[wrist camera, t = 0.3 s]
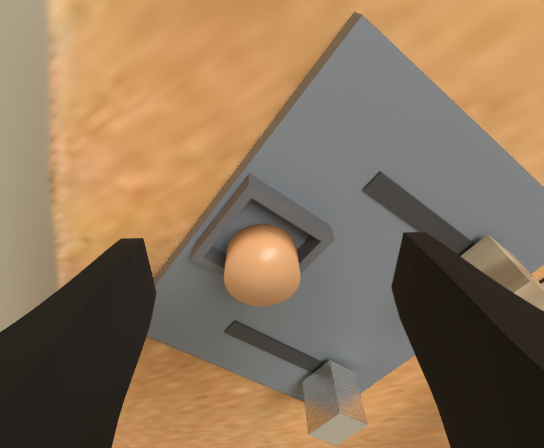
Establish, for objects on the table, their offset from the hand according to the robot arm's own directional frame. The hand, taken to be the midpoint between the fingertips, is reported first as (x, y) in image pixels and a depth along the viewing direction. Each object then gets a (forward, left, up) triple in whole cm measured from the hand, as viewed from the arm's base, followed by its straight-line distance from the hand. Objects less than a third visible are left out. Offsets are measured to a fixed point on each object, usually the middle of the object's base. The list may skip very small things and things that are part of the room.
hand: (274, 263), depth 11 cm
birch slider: (-14, -2, -8) cm, 16 cm away
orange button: (-3, +4, -7) cm, 9 cm away
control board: (-9, +4, -10) cm, 14 cm away
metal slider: (-14, +11, -8) cm, 20 cm away
